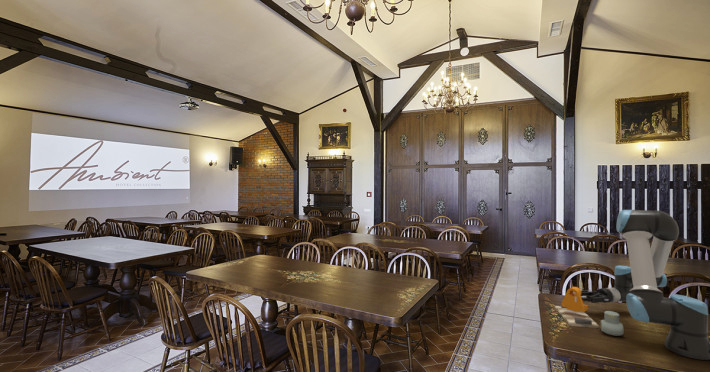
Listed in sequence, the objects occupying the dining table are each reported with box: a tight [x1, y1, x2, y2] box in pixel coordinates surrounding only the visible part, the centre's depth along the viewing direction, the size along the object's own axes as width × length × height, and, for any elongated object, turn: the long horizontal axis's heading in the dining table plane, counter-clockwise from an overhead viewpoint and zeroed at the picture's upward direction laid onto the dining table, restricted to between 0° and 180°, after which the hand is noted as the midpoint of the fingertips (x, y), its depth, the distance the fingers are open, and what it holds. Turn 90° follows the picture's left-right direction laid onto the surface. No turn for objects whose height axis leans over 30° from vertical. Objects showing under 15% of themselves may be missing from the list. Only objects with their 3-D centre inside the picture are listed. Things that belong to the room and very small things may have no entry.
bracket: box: [561, 286, 589, 313], centre depth 187 cm, size 11×7×12 cm, turn 37°
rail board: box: [554, 302, 600, 329], centre depth 186 cm, size 26×13×3 cm, turn 164°
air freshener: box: [600, 310, 624, 337], centre depth 166 cm, size 11×8×10 cm
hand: (571, 297), depth 186 cm, fingers closed on bracket, 5 cm apart
